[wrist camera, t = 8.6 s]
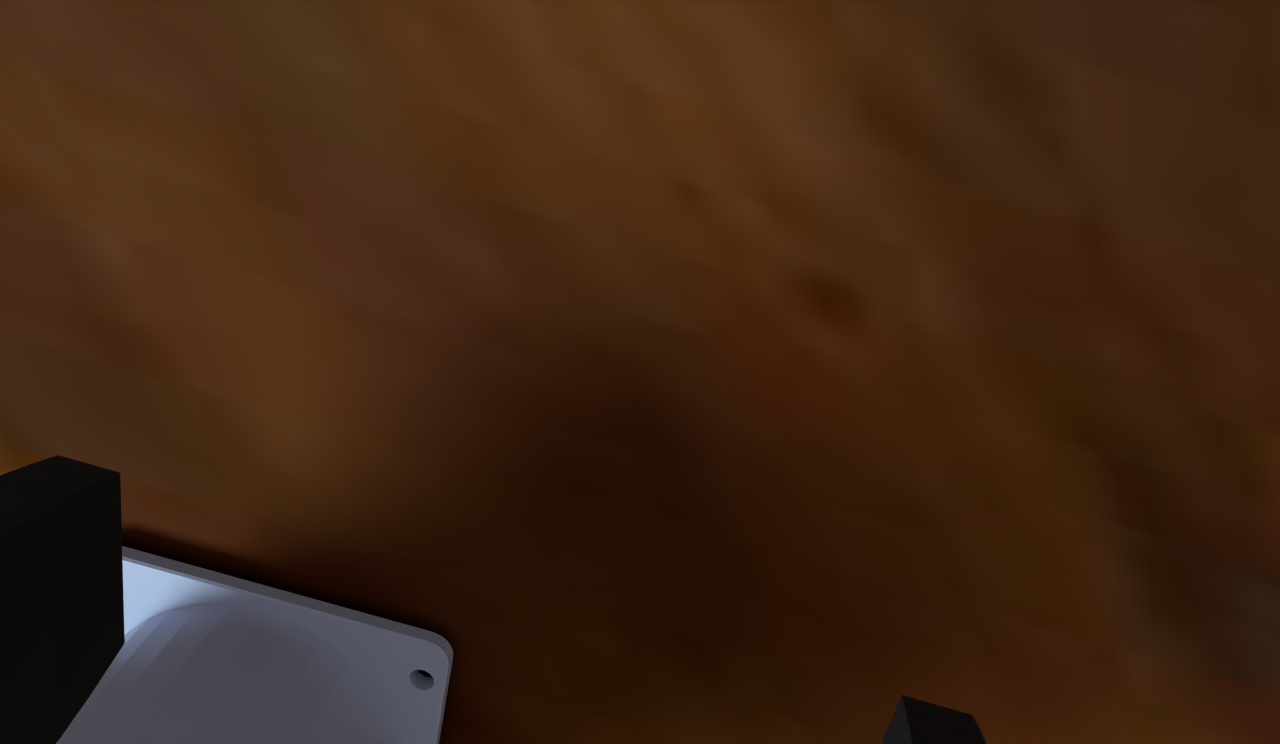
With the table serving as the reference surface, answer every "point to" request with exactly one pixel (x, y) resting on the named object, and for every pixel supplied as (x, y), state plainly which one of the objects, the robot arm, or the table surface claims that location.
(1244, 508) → the table surface
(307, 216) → the table surface
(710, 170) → the table surface
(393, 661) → the robot arm
